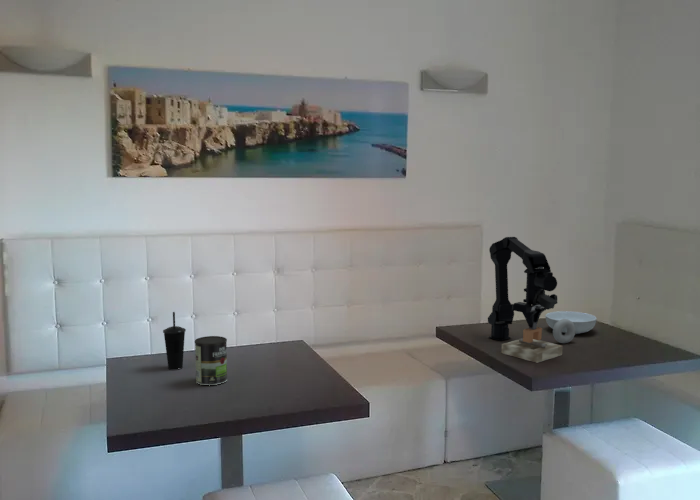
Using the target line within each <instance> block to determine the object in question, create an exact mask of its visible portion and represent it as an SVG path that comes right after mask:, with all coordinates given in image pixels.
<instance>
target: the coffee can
mask: <svg viewBox="0 0 700 500" xmlns="http://www.w3.org/2000/svg"><path fill="white" fill-rule="evenodd" d="M227 340H228V338H226V337H224V336H219V335H209V336H208V335H207V336H202V337H198V338H195V339H194V344H195V346H194V349H195V350H194V351H195V354H194V355H195V383H196V384H197V383H198V384H200V385H199V386H201V385H209V386H208V387H211V386H210V385H217V384H221V383H224V382H226V381H227V382H228V358H227V357H228V356H227V355H228V354H227V349H228V348H227V347H228V346H227ZM227 382H226V383H227ZM198 384H197V385H198ZM224 384H225V383H224ZM221 385H222V384H221ZM217 386H218V385H217Z"/></svg>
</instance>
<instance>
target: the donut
mask: <svg viewBox="0 0 700 500" xmlns="http://www.w3.org/2000/svg"><path fill="white" fill-rule="evenodd" d="M564 327H566V328H567V332H566V333H564V334H563V333H562V329H563V328H564ZM575 331H576V330H575V326H574V324H573V322H572V321H570V320H568V319H561V320H559V321H558V322H557V323H556V324H555V325H554V328H553V329H552V335H553V337H554V340H556V342H558V343H560V344H569V342H571V341H572V340H573V339H574V338H575V335H576V334H575Z"/></svg>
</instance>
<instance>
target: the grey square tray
mask: <svg viewBox="0 0 700 500" xmlns="http://www.w3.org/2000/svg"><path fill="white" fill-rule="evenodd" d="M563 348H564V347H563V345H560V344H556V343H553V342H548V341H544V340H535V339H533V342H531V343H528V342H524V341H523V338H518V339H515V340H512V341H509V342H505V343H501V353H500V354H503V355H506V356H507V355H508V356H511V357H514V358H519V359H521V360H525V361H529V362H533V363H537V364H538V363H541V362H544V361H547V360H550V359H555V358H557V357H559V356H563Z"/></svg>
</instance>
